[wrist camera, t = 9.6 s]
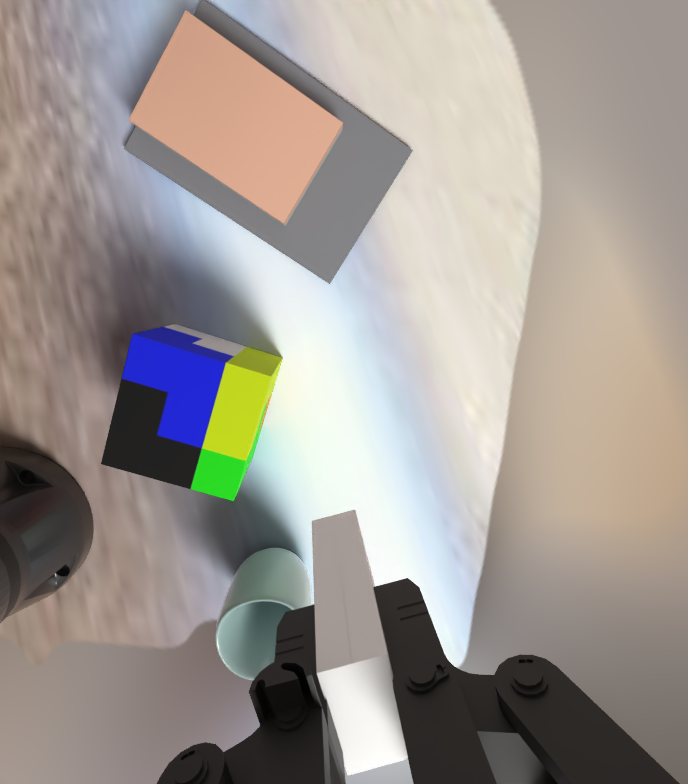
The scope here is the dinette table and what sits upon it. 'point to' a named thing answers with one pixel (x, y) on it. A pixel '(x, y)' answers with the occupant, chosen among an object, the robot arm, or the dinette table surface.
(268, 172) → the tile
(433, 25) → the dinette table surface
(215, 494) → the puzzle toy
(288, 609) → the cup
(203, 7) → the mat
